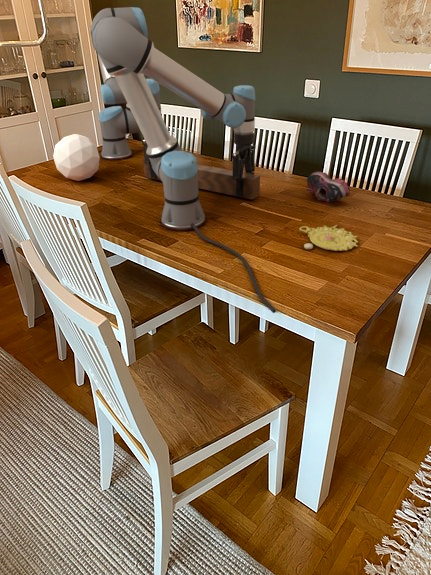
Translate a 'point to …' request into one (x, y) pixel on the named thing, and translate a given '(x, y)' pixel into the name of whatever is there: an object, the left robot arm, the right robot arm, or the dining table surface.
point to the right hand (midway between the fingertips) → (243, 193)
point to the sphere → (76, 157)
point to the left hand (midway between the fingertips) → (158, 176)
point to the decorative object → (330, 238)
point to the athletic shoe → (327, 187)
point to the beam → (221, 181)
